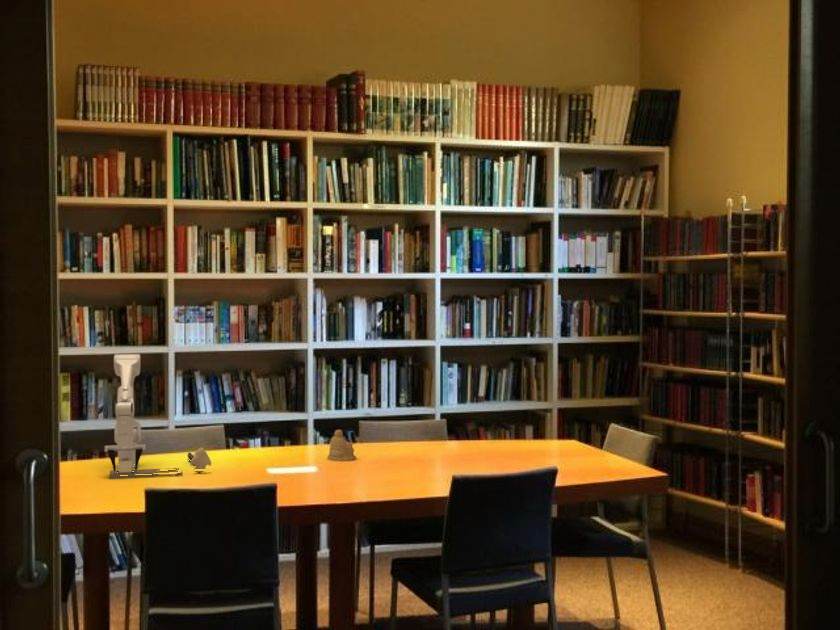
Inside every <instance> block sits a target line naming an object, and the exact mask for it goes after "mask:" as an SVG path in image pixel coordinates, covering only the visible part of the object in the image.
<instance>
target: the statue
mask: <svg viewBox="0 0 840 630" xmlns="http://www.w3.org/2000/svg"><path fill="white" fill-rule="evenodd" d="M334 431H335V432H334V436H332V437H331V439H330V443H329V446H330V447H329V454H328V455H327V460H328V461H332V462H342V463H343V462H353V461H356V460H357V456H356V455H355V449H354V447H353V445H354V444H353V443H352V442H348V443H347V441H346V440H345V439H344V438H343V437H344V434H343V430H341V429H336V430H334Z"/></svg>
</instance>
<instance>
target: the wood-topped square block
mask: <svg viewBox="0 0 840 630" xmlns="http://www.w3.org/2000/svg"><path fill="white" fill-rule="evenodd" d="M118 470H119V474H125V473H132V470H133V468H132V459H129V458H122V459H119V468H118Z"/></svg>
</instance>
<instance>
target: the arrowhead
mask: <svg viewBox="0 0 840 630" xmlns="http://www.w3.org/2000/svg"><path fill="white" fill-rule="evenodd" d="M195 452H196V453H195V454H194V456H193V458H192V460H191V462H190V463H189V466H191V467H192V465H195V466H196V467H194V470H195V469H205V470H206V467H207V466H212V460H211V458H210V456H209V454H208V453H207V451H206V450H205V449H204V447H200V448H198V449H197V451H195ZM194 472H195V473H197V472H202V473H203V472H205V471H194Z"/></svg>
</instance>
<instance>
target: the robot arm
mask: <svg viewBox="0 0 840 630" xmlns="http://www.w3.org/2000/svg"><path fill="white" fill-rule="evenodd" d="M113 369H114V373H115V375H116V376H117V377H120V386H119V387H118V388H117V399H116V400H117V402H116V403H115V418H116V422H115V424H114V443H115V444H112V445H111V444H110V445H105V446H104V452H105V453H106V452H107V455H108V457H109V459H110V462H111V465H112V468H113V469H112V471H116V470H117V469H119V465H118V464H119V459H122V458H129V459H132V469H134V470H138V468H139V467H140V465H139V463H140V459H141V455H142V454H143V451H146V444H139V443H141V442H142V435H141V434H142V427H141V423H140V422H139V421H138V420H137V419H135V418H134V417H135V416H134V415H135V402H134V391H135V390H134V382H135V378H136V377H137V376H139V375H140V373H141V355H140V354H139V353H135V354H133V353H132V354H131V353H130V354H117V353H115V354H114V356H113ZM116 452H117V454H118V458H117V461H118V463H117V466H116ZM134 464H135V465H134ZM116 468H117V469H116Z"/></svg>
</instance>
